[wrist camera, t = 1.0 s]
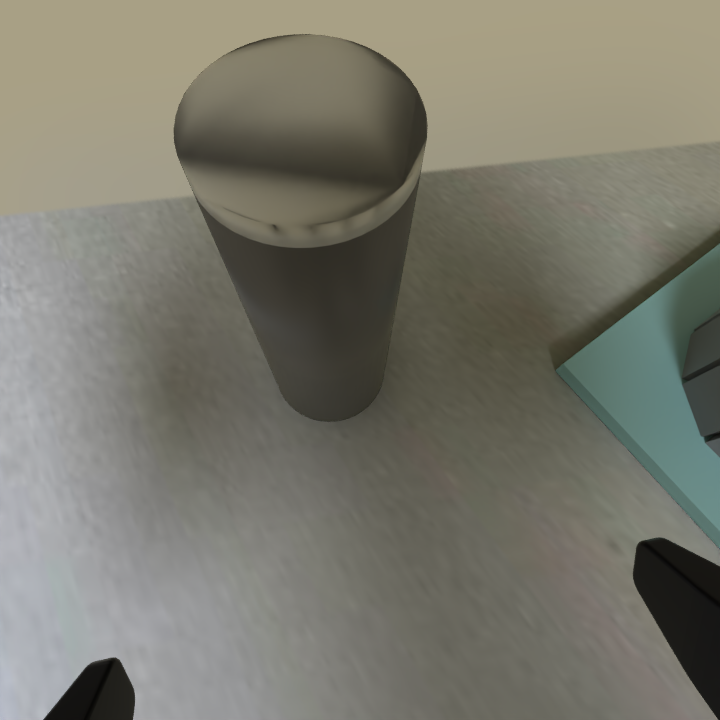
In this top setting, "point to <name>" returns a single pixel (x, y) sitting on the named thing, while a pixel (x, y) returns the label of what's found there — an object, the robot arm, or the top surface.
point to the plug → (309, 204)
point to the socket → (664, 387)
